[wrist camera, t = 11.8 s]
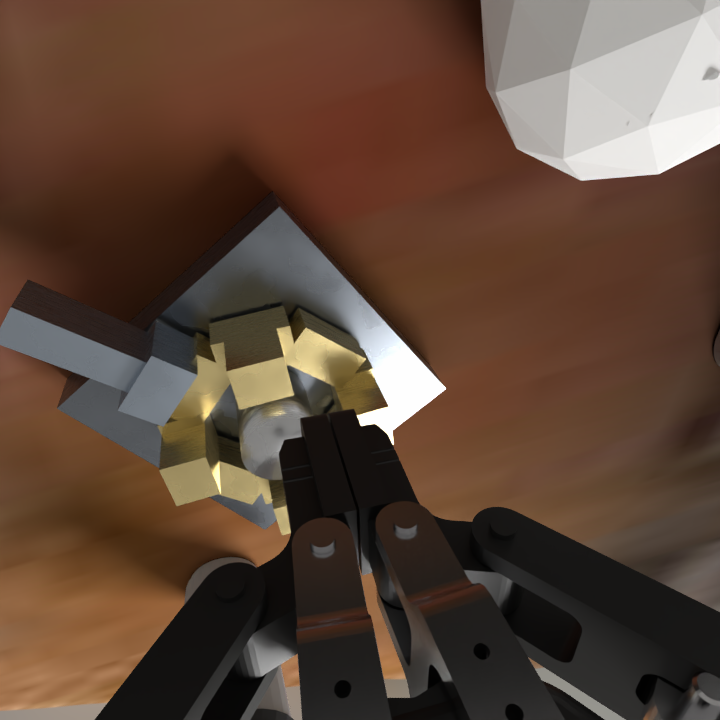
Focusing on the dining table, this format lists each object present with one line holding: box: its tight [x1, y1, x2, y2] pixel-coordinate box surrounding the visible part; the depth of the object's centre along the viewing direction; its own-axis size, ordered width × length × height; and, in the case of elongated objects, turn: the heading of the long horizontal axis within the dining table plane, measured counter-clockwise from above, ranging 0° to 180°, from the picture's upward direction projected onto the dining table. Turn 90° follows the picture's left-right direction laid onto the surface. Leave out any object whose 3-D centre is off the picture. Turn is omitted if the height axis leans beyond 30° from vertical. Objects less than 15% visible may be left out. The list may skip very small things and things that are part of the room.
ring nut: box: [0, 280, 394, 536], centre depth 29 cm, size 21×12×5 cm, turn 53°
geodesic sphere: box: [481, 0, 720, 181], centre depth 23 cm, size 14×14×14 cm
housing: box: [57, 191, 446, 529], centre depth 33 cm, size 17×17×8 cm
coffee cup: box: [185, 557, 293, 720], centre depth 40 cm, size 8×8×15 cm
